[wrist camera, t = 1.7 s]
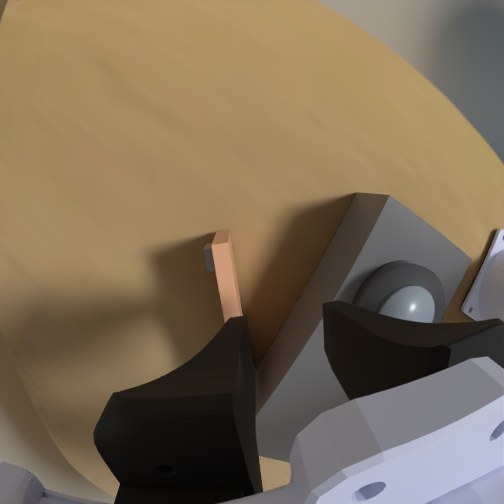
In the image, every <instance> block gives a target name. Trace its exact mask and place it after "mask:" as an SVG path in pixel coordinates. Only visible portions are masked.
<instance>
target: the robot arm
mask: <svg viewBox="0 0 504 504" xmlns="http://www.w3.org/2000/svg"><path fill="white" fill-rule="evenodd" d="M322 310H323V331H324V350H325V353H326V356H327V358H328V361H329V364H330V366H331V369H332V371H333V372H334V374H335V376H336V378H337V380H338V381H339V383H340V385H341V387H342V388H343V390H344V392H345V394H346V395H347V397H348V399H349V402H346V403H344V404H342V405H340V406H337V407H335V408H333V409H330V410H328V411H325V412H323V413H321V414H320V415H319V416H318V417H317V418H315V419H314V420H313V421H312V422H311V423H310V424H309V425H308V426H306V427H305V428H304V429H303V430H302V431H301V432H300V433H298V434H297V435H296V438H295V441H294V444H293V447H292V450H291V453H290V465H291V480H290V483H289V484H287V485H284V486H281V487H278V488H275V489H272V490H268V491H265V492H263V487H262V480H261V472H260V464H259V456H258V448H257V439H256V380H255V372H254V365H253V358H252V352H251V345H250V339H249V333H248V326H247V320H246V315H245V316H237V317H230V318H229V319H228V320H227V321H226V323H225V324H224V325H223V327H222V328H221V329H220V331H219V332H218V333H217V334H216V336H215V337H214V338H213V339H212V340H211V341H210V342H209V343H208V344H207V345H206V346H205V347H204V348H203V349H202V350H201V351H200V352H199V353H198V354H197V355H196V356H194V357H193V358H192V359H190V360H189V361H188V362H186V363H185V364H183V365H182V366H180V367H178V368H177V369H175V370H173V371H172V372H170V373H168V374H166V375H164V376H162V377H160V378H158V379H156V380H153V381H151V382H148V383H146V384H143V385H140V386H137V387H134V388H130V389H127V390H123V391H120V392H115V393H113V394H112V396H111V397H110V399H109V401H108V403H107V405H106V407H105V409H104V411H103V413H102V415H101V417H100V419H99V421H98V423H97V425H96V428H95V430H94V433H93V435H94V443H95V446H96V448H97V450H98V452H99V454H100V455H101V457H102V458H103V460H104V461H105V463H106V464H107V466H108V467H109V469H110V470H111V472H112V473H113V474H114V476H115V477H116V479H117V480H118V481H119V483H120V486H119V489H118V492H117V496H116V499H115V502H114V504H504V230H503V229H498V230H497V232H496V234H495V237H494V239H493V242H492V244H491V247H490V249H489V251H488V254H487V256H486V258H485V260H484V263H483V265H482V267H481V269H480V271H479V273H478V276H477V278H476V280H475V282H474V284H473V286H472V288H471V290H470V292H469V294H468V295H467V297H466V299H465V301H464V303H463V305H462V312H464V313H465V314H467V315H468V316H469V317H471V318H472V319H474V320H475V322H467V323H424V322H415V321H409V320H403V319H398V318H394V317H390V316H386V315H382V314H379V313H376V312H373V311H370V310H367V309H364V308H361V307H358V306H355V305H352V304H350V303H346V302H343V301H338V300H337V301H331V302H326V303H322ZM0 504H109V503H103V502H97V501H92V500H88V499H83V498H79V497H74V496H70V495H66V494H63V493H59V492H55V491H52V490H48V489H45V488H44V486H43V485H42V483H41V482H40V481H39V480H38V479H37V477H35V476H34V475H33V474H32V473H31V472H29V471H28V470H26V469H24V468H20V467H18V466H15V465H12V464H9V463H6V462H3V461H2V462H1V463H0Z"/></svg>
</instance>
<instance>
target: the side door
mask: <svg viewBox="0 0 504 504" xmlns="http://www.w3.org/2000/svg"><path fill="white" fill-rule="evenodd" d="M203 253H204V259H205V265H206V271H207V272H210V271H216V276H217V282H218V288H219V293H220V299H221V305H222V310H223V316H224V321H225V323H226V321H227V320H228V319H229V318H230V317H237V316H243V314H242V308H241V302H240V295H239V289H238V282H237V276H236V269H235V262H234V256H233V249H232V242H231V235H230V230H225V231H218V232H216V234H215V237H214V239H213V242H212V243H207V244H205V246H204V248H203Z"/></svg>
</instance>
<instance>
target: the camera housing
mask: <svg viewBox="0 0 504 504" xmlns="http://www.w3.org/2000/svg"><path fill="white" fill-rule="evenodd" d="M471 260H472V259H471V258H470V257H469V256H467V255H466V254H465V253H464V252H463V251H462V250H460V249H459V248H458V247H457V246H456V245H454V244H453V243H452V242H451V241H450V240H448V239H447V238H446V237H445V236H443V235H442V234H441V233H440V232H438V231H437V230H436V229H435V228H433V227H432V226H431V225H429V224H428V223H427V222H426V221H424V220H423V219H422V218H420V217H419V216H418V215H416V214H415V213H414V212H412V211H411V210H409V209H408V208H407V207H405V206H404V205H403V204H401V203H400V202H398V201H397V200H396V199H394V198H393V197H391V196H390V195H381V194H370V193H358V192H357V193H356V195H355V197H354V199H353V201H352V203H351V205H350V207H349V209H348V210H347V212H346V214H345V216H344V218H343V220H342V222H341V224H340V226H339V228H338V230H337V231H336V233H335V235H334V237H333V239H332V241H331V243H330V244H329V246H328V248H327V250H326V252H325V254H324V255H323V257H322V259H321V261H320V263H319V264H318V266H317V268H316V270H315V272H314V273H313V275H312V277H311V279H310V280H309V282H308V284H307V286H306V287H305V289H304V291H303V293H302V294H301V296H300V298H299V300H298V301H297V303H296V305H295V306H294V308H293V310H292V311H291V313H290V315H289V316H288V318H287V320H286V321H285V323H284V325H283V326H282V328H281V330H280V331H279V333H278V335H277V336H276V338H275V340H274V341H273V343H272V344H271V346H270V348H269V349H268V351H267V352H266V354H265V356H264V357H263V359H262V360H261V362H260V364H259V365H258V367H257V368H256V370H255V371H254V372H255V380H256V439H257V448H258V455H259V456H263V457H267V458H272V459H276V460H281V461H286V462H290V453H291V450H292V447H293V444H294V441H295V438H296V435H297V434H298V433H300V432H301V431H302V430H303V429H304V428H305V427H306V426H308V425H309V424H310V423H311V422H312V421H313V420H314V419H315V418H317V417H318V416H319V415H320V414H321V413H323V412H325V411H328V410H330V409H333V408H335V407H337V406H340V405H342V404H344V403H346V402H349V399H348V397H347V395H346V394H345V392H344V390H343V388H342V387H341V385H340V383H339V381H338V380H337V378H336V376H335V374H334V372H333V371H332V369H331V366H330V364H329V361H328V358H327V356H326V353H325V350H324V331H323V310H322V303H326V302H331V301H337V300H338V301H343V302H346V303H350V304H352V305H355V306H358V307H361V308H364V309H367V310H370V311H373V312H376V313H379V314H382V315H386V316H390V317H394V318H398V319H403V320H409V321H415V322H424V323H441V321H442V318H443V314H444V312H445V310H446V309H447V307H448V305H449V303H450V301H451V300H452V298H453V296H454V294H455V292H456V290H457V288H458V286H459V284H460V282H461V281H462V279H463V277H464V274H465V272H466V270H467V268H468V266H469V264H470V262H471Z"/></svg>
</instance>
